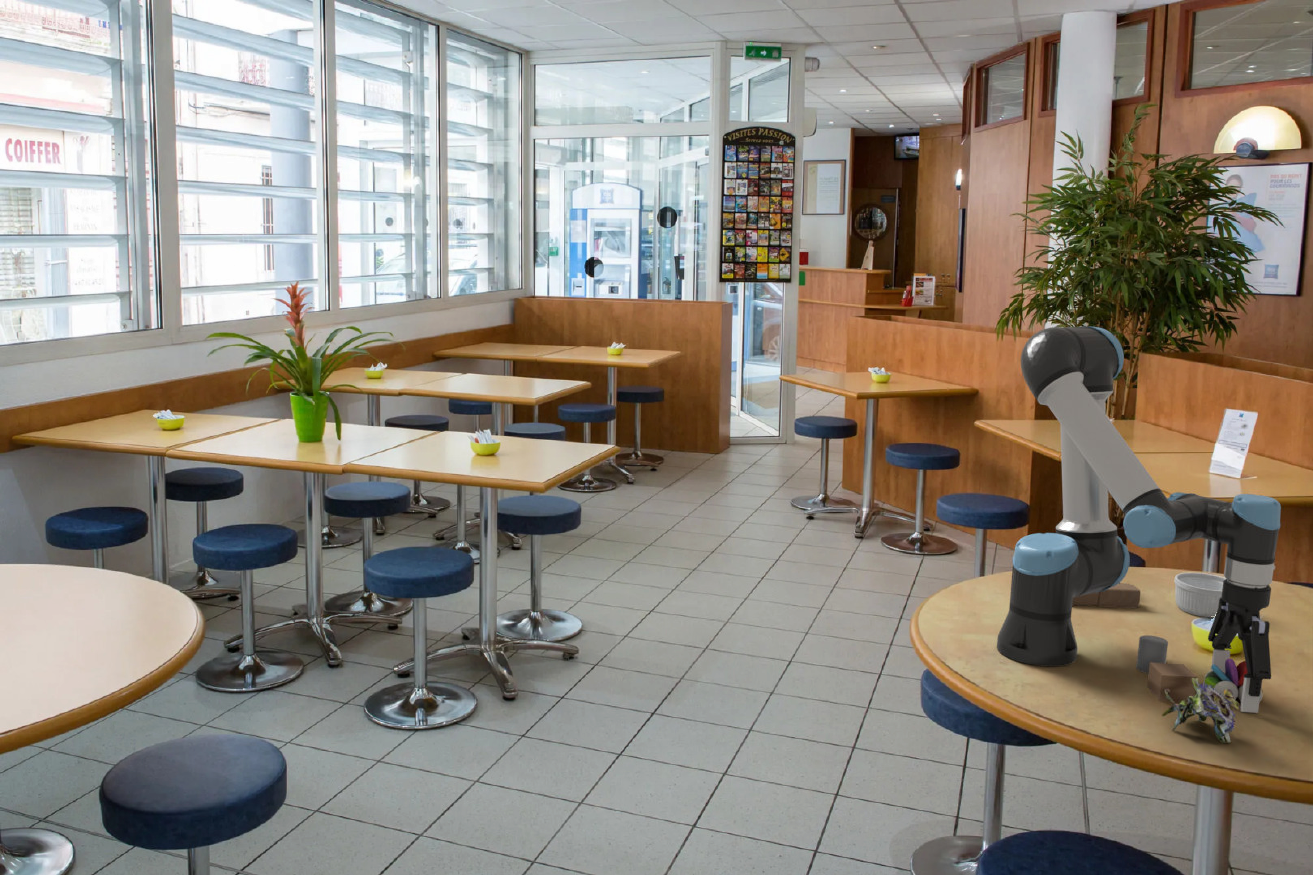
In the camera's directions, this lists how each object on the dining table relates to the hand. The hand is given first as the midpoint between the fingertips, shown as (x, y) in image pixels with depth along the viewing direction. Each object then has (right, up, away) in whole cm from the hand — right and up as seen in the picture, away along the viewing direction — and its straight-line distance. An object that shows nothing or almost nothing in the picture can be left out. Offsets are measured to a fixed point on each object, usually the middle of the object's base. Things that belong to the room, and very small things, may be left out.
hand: (1232, 697), depth 193 cm
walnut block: (-11, 0, +1) cm, 11 cm away
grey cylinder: (-9, +2, +13) cm, 16 cm away
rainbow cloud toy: (0, 0, +1) cm, 1 cm away
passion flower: (-14, -3, -15) cm, 21 cm away
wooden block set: (-3, +10, +57) cm, 58 cm away
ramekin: (+19, +8, +48) cm, 52 cm away
